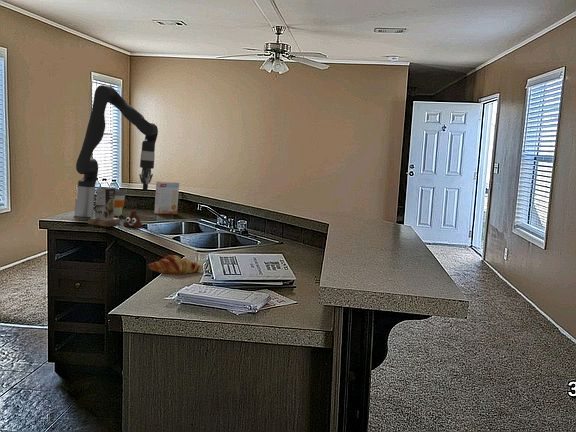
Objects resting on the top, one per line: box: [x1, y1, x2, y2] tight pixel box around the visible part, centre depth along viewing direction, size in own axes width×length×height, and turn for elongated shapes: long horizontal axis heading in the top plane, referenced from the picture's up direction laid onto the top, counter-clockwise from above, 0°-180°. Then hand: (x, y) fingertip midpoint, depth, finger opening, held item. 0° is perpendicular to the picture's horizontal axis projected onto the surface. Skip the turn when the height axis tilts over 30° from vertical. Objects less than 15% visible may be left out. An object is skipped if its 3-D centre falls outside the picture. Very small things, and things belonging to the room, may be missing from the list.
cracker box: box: [153, 180, 180, 215], centre depth 386 cm, size 14×6×21 cm, turn 133°
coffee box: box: [94, 187, 116, 219], centre depth 319 cm, size 9×6×16 cm
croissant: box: [147, 254, 203, 275], centre depth 226 cm, size 21×10×8 cm, turn 117°
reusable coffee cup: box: [113, 188, 127, 217], centre depth 359 cm, size 13×12×15 cm
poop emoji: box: [123, 209, 143, 229], centre depth 321 cm, size 10×8×9 cm
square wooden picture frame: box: [87, 216, 121, 228], centre depth 320 cm, size 12×12×3 cm
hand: (145, 190), depth 331 cm, fingers closed
